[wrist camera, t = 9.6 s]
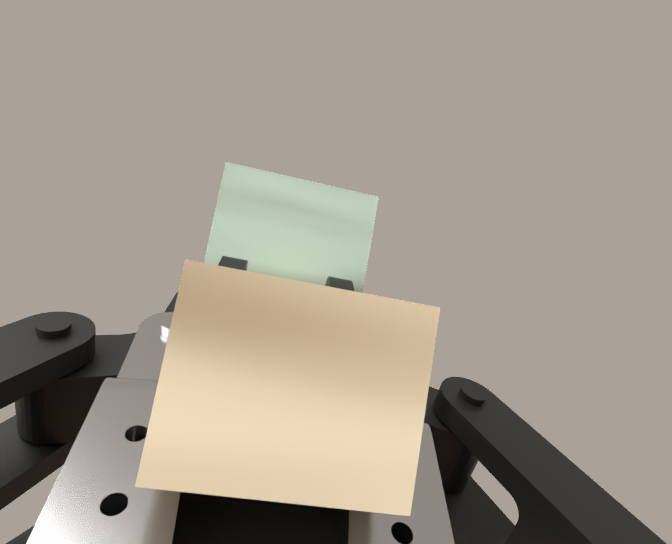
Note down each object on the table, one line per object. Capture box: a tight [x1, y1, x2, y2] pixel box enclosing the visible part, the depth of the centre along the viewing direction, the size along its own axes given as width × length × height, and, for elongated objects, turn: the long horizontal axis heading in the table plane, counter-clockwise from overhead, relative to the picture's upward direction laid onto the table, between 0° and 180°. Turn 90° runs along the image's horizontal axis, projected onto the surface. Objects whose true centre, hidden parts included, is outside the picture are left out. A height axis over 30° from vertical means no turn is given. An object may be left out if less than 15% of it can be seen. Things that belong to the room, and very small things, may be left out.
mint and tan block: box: [135, 162, 440, 516], centre depth 11 cm, size 14×5×6 cm, turn 10°
